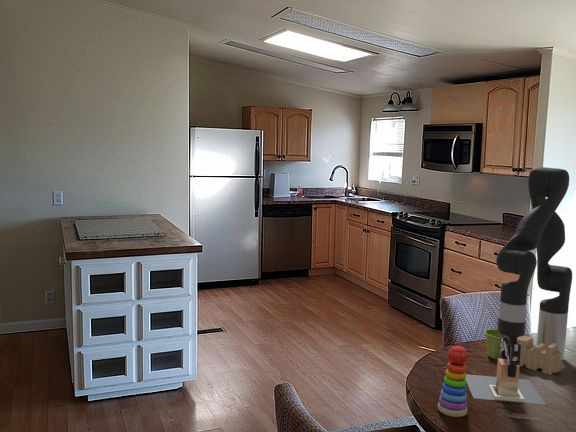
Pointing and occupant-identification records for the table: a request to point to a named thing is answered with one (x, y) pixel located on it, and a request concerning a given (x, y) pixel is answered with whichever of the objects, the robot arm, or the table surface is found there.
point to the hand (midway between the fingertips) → (507, 371)
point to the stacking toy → (454, 385)
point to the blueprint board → (486, 390)
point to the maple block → (506, 388)
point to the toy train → (540, 356)
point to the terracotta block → (502, 371)
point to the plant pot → (493, 343)
